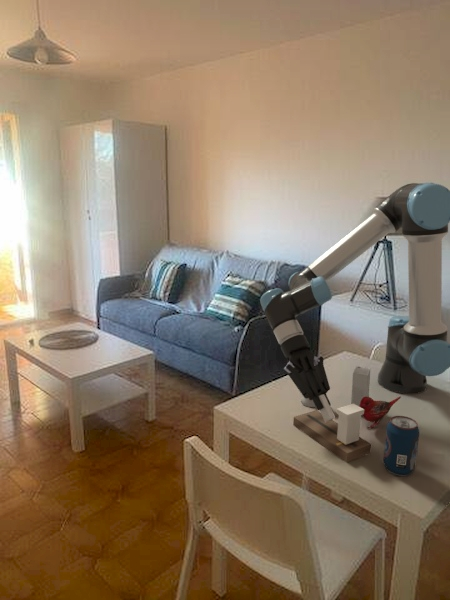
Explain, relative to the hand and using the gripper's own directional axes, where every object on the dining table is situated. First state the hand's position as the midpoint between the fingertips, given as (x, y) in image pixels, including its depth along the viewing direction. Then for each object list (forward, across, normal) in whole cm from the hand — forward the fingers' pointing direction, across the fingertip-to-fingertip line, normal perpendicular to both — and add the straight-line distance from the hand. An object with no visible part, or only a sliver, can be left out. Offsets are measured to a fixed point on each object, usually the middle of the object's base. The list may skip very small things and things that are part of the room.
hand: (330, 420), depth 118 cm
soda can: (+17, -4, +9) cm, 19 cm away
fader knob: (+6, 0, +3) cm, 7 cm away
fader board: (+4, 0, -3) cm, 5 cm away
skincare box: (-1, -19, -9) cm, 21 cm away
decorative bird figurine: (+5, -16, -2) cm, 17 cm away
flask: (-8, -10, -16) cm, 20 cm away
